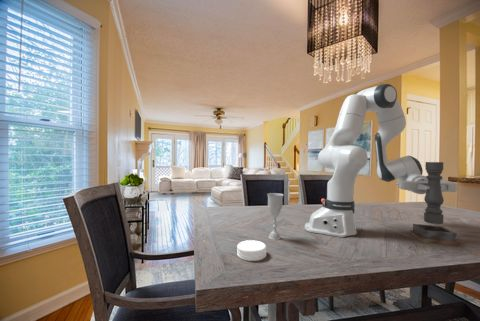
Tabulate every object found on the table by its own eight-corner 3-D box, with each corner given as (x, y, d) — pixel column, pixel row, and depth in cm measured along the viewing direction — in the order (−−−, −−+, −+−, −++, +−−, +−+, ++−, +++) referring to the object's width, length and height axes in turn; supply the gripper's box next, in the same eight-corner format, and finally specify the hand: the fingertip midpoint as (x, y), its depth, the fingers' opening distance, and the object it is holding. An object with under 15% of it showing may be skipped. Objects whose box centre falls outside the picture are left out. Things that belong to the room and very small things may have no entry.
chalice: (262, 236, 95) (263, 193, 95) (276, 233, 98) (276, 192, 98) (273, 241, 88) (273, 196, 88) (286, 239, 91) (287, 195, 91)
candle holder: (447, 224, 90) (448, 162, 90) (429, 223, 91) (430, 162, 91) (436, 220, 96) (437, 162, 96) (420, 219, 97) (421, 162, 97)
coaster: (240, 248, 82) (240, 238, 82) (267, 250, 80) (267, 241, 80) (233, 259, 73) (233, 249, 73) (264, 263, 70) (264, 252, 70)
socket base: (422, 242, 89) (422, 231, 89) (409, 233, 101) (410, 223, 101) (460, 246, 86) (460, 234, 86) (442, 236, 97) (442, 225, 97)
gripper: (393, 177, 109) (405, 179, 95) (445, 178, 103) (465, 181, 89) (393, 190, 109) (405, 194, 96) (445, 192, 103) (465, 197, 89)
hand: (435, 188), depth 92 cm, fingers closed on candle holder, 4 cm apart
